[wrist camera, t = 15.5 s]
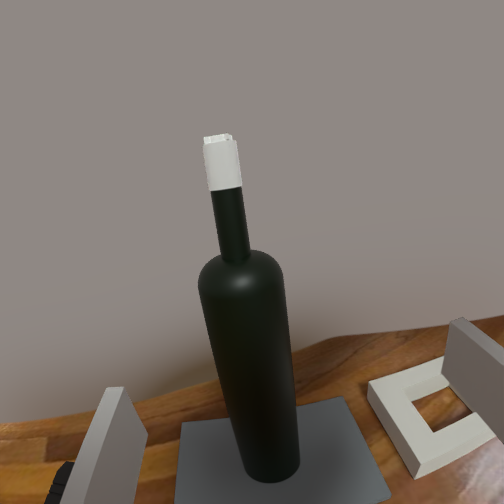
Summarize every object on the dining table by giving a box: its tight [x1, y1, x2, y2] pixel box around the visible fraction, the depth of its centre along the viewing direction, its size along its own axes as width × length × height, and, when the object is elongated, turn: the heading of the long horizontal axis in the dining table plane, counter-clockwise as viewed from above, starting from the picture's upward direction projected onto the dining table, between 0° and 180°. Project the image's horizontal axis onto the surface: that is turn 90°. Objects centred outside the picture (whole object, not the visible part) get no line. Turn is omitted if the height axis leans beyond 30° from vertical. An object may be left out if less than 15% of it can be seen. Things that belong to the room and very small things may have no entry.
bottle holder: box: [367, 356, 496, 480], centre depth 28 cm, size 14×14×3 cm
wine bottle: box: [198, 133, 300, 483], centre depth 23 cm, size 6×6×30 cm
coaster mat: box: [174, 396, 392, 504], centre depth 27 cm, size 20×16×1 cm
